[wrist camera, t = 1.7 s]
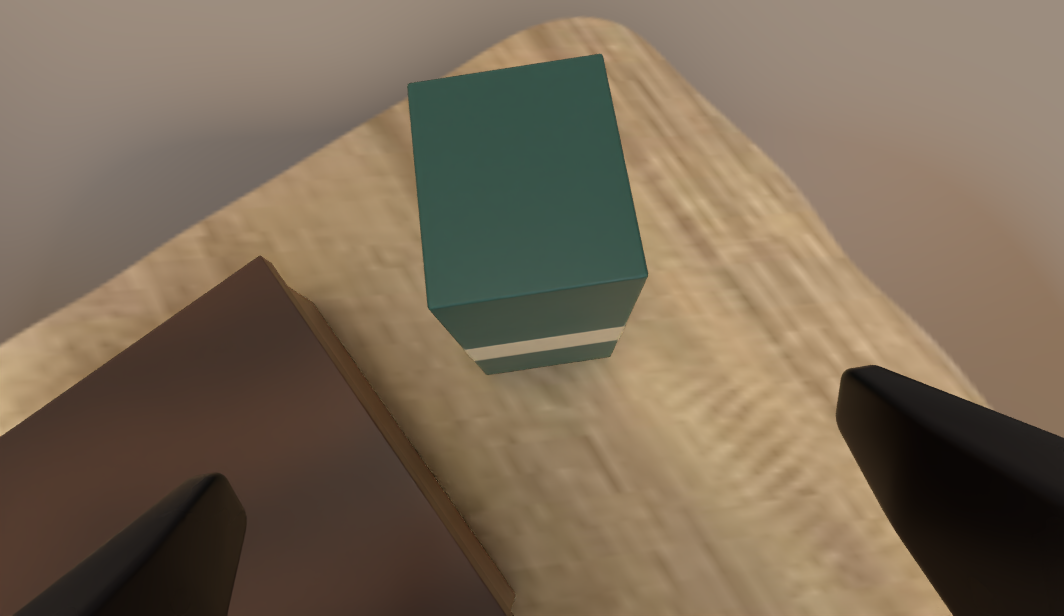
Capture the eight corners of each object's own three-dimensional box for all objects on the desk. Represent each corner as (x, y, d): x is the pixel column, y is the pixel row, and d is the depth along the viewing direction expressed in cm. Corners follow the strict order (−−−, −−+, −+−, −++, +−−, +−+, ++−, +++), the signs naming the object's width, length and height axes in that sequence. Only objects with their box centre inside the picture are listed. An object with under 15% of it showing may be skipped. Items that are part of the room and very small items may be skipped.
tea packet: (586, 218, 24) (603, 50, 14) (611, 357, 22) (650, 277, 12) (468, 235, 24) (405, 81, 14) (485, 376, 22) (426, 310, 12)
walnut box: (528, 597, 20) (519, 634, 16) (199, 875, 18) (90, 1001, 14) (314, 292, 23) (259, 254, 19) (22, 502, 22) (-109, 512, 17)
